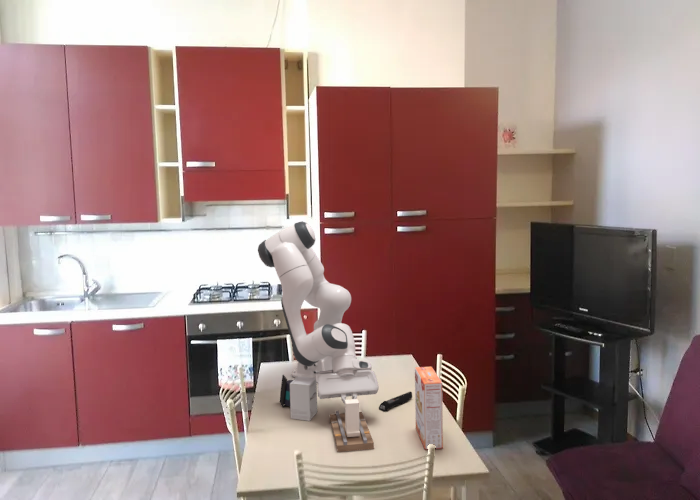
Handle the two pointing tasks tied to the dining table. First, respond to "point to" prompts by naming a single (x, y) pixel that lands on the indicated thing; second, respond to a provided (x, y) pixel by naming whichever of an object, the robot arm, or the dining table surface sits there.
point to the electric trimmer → (395, 401)
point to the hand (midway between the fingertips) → (350, 408)
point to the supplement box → (303, 398)
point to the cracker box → (429, 407)
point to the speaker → (285, 392)
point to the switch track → (350, 443)
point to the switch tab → (352, 418)
